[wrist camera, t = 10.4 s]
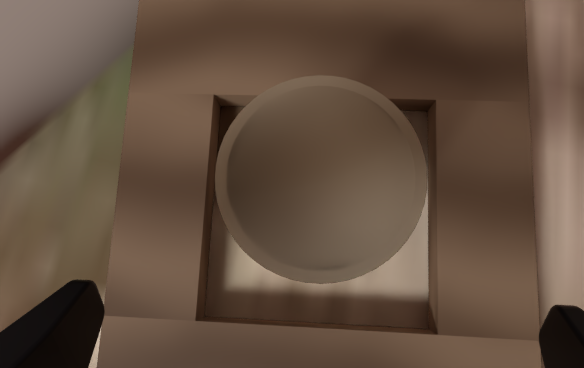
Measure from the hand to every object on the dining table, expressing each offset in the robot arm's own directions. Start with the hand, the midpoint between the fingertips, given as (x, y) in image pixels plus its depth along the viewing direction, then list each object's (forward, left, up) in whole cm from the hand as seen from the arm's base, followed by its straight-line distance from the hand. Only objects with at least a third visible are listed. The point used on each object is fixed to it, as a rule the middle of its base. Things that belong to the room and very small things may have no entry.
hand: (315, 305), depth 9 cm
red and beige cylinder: (+2, -2, -11) cm, 12 cm away
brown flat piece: (+2, -2, -11) cm, 12 cm away
